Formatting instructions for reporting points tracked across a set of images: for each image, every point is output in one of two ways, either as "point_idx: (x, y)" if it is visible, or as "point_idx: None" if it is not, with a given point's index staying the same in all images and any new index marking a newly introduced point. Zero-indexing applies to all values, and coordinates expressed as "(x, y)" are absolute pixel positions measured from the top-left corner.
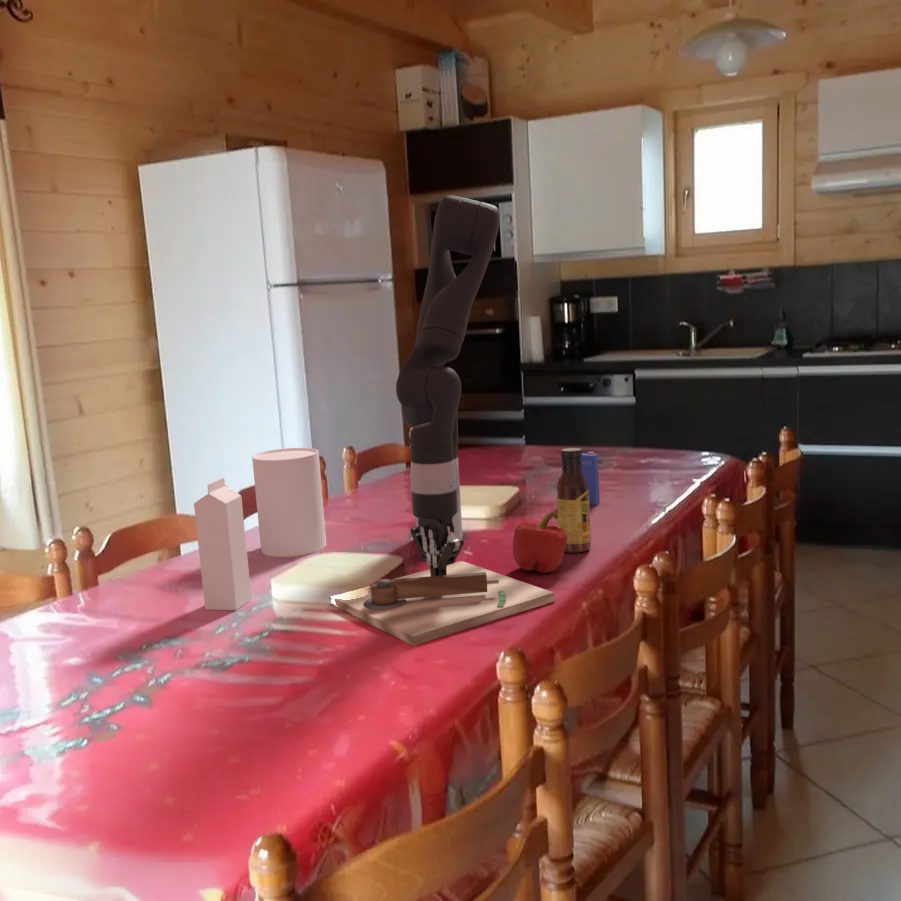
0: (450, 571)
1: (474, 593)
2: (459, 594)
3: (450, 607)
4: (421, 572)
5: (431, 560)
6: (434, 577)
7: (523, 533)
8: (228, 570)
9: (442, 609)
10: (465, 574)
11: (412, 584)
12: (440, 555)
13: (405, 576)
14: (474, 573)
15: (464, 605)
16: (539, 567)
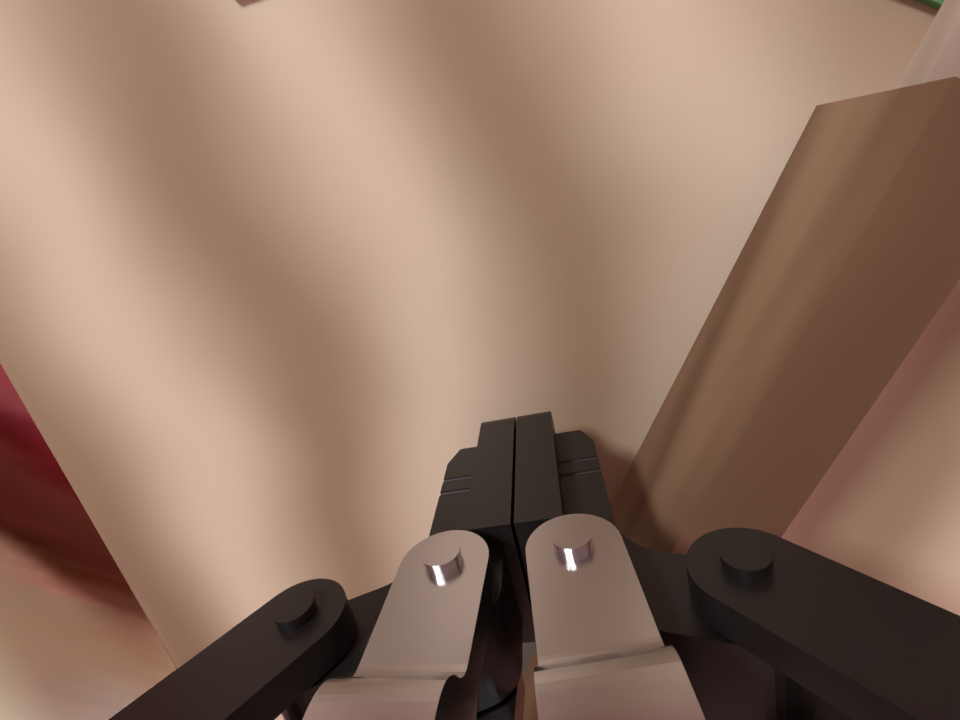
0: (49, 149)
1: (722, 214)
2: (658, 329)
3: (872, 494)
4: (15, 358)
5: (519, 713)
6: None
7: None
8: None
9: (864, 546)
10: (828, 360)
11: None
12: (483, 637)
13: (78, 476)
14: (879, 247)
15: (921, 402)
16: None
